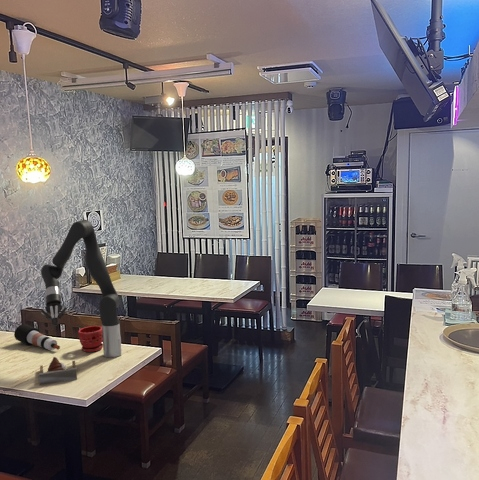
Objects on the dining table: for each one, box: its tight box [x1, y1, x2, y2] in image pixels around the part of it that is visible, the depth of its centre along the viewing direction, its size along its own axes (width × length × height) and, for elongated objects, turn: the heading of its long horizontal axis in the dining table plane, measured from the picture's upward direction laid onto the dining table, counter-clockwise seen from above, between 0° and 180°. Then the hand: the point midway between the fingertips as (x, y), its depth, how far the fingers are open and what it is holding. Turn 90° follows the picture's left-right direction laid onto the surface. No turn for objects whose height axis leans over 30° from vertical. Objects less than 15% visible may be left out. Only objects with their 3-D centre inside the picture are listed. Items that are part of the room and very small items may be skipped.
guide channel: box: [38, 360, 78, 386], centre depth 230 cm, size 20×16×5 cm
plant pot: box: [78, 325, 103, 353], centre depth 265 cm, size 13×13×12 cm
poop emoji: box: [46, 356, 67, 372], centre depth 228 cm, size 10×8×9 cm
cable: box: [13, 323, 61, 351], centre depth 272 cm, size 10×34×10 cm, turn 57°
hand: (55, 325), depth 239 cm, fingers closed
